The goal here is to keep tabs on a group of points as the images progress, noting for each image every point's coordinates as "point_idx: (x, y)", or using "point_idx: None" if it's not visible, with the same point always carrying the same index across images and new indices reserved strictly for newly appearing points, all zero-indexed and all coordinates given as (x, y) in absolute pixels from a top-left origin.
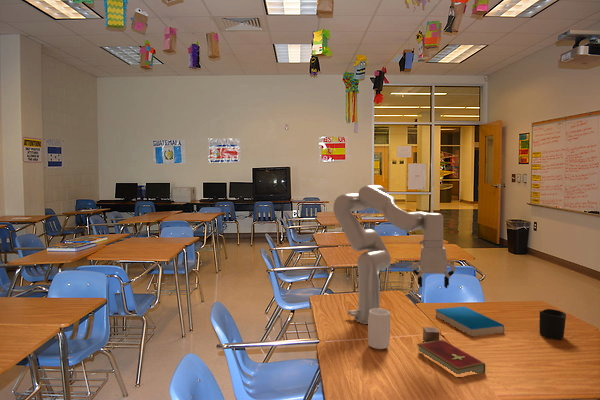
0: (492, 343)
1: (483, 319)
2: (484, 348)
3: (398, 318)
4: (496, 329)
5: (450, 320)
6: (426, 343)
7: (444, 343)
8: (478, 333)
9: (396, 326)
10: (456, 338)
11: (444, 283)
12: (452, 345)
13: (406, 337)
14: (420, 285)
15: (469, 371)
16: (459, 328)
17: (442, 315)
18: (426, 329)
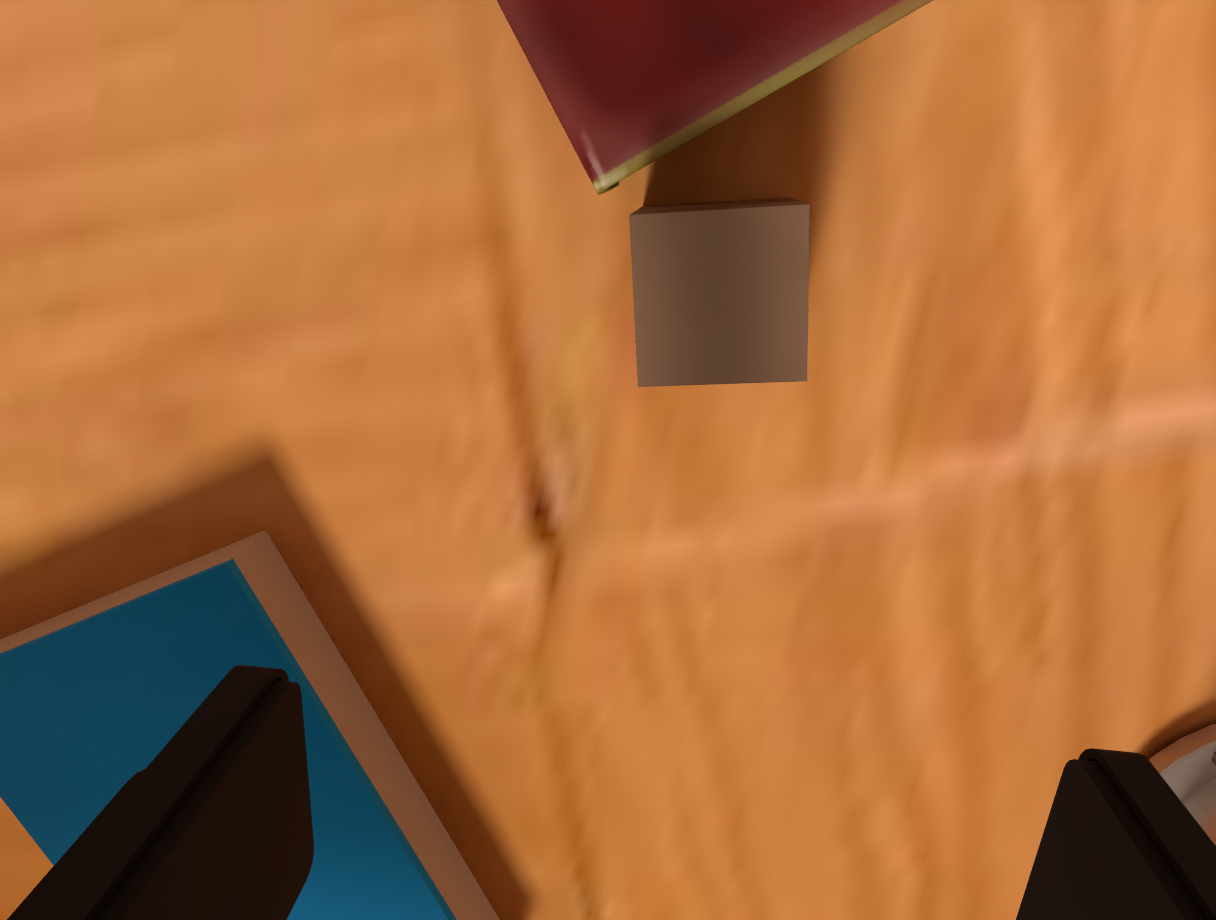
0: (96, 391)
1: (87, 802)
2: (182, 254)
3: (901, 895)
4: (11, 643)
5: (405, 815)
6: (838, 14)
7: (601, 59)
8: (188, 566)
9: (979, 705)
10: (416, 469)
11: (270, 900)
12: (514, 3)
13: (946, 431)
14: (1158, 781)
15: None
16: (349, 685)
17: (462, 916)
18: (784, 297)
